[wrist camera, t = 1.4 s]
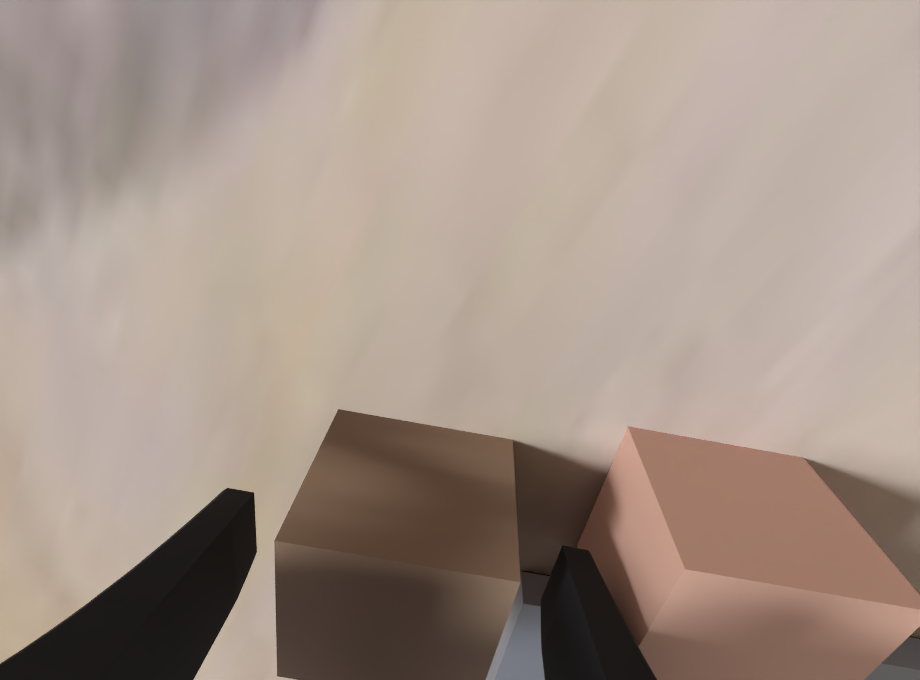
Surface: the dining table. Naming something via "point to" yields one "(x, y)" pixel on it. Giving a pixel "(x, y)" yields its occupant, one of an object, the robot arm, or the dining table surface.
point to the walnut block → (397, 554)
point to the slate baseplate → (520, 656)
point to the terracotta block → (742, 565)
